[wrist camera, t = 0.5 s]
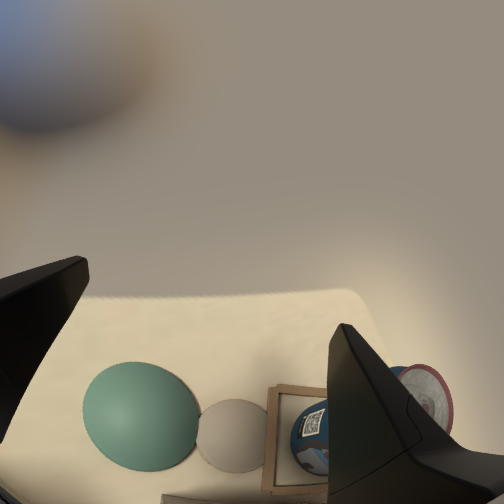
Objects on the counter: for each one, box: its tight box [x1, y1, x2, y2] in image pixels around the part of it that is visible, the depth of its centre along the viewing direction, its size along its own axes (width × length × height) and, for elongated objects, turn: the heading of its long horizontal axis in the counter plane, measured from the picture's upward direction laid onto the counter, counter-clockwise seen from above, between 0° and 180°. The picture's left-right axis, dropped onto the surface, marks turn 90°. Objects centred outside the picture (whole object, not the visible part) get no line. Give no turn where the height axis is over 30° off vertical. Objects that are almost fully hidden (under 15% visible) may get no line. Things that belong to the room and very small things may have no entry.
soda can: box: [290, 364, 453, 476], centre depth 15 cm, size 7×7×12 cm
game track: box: [83, 362, 328, 496], centre depth 18 cm, size 10×25×1 cm, turn 86°
